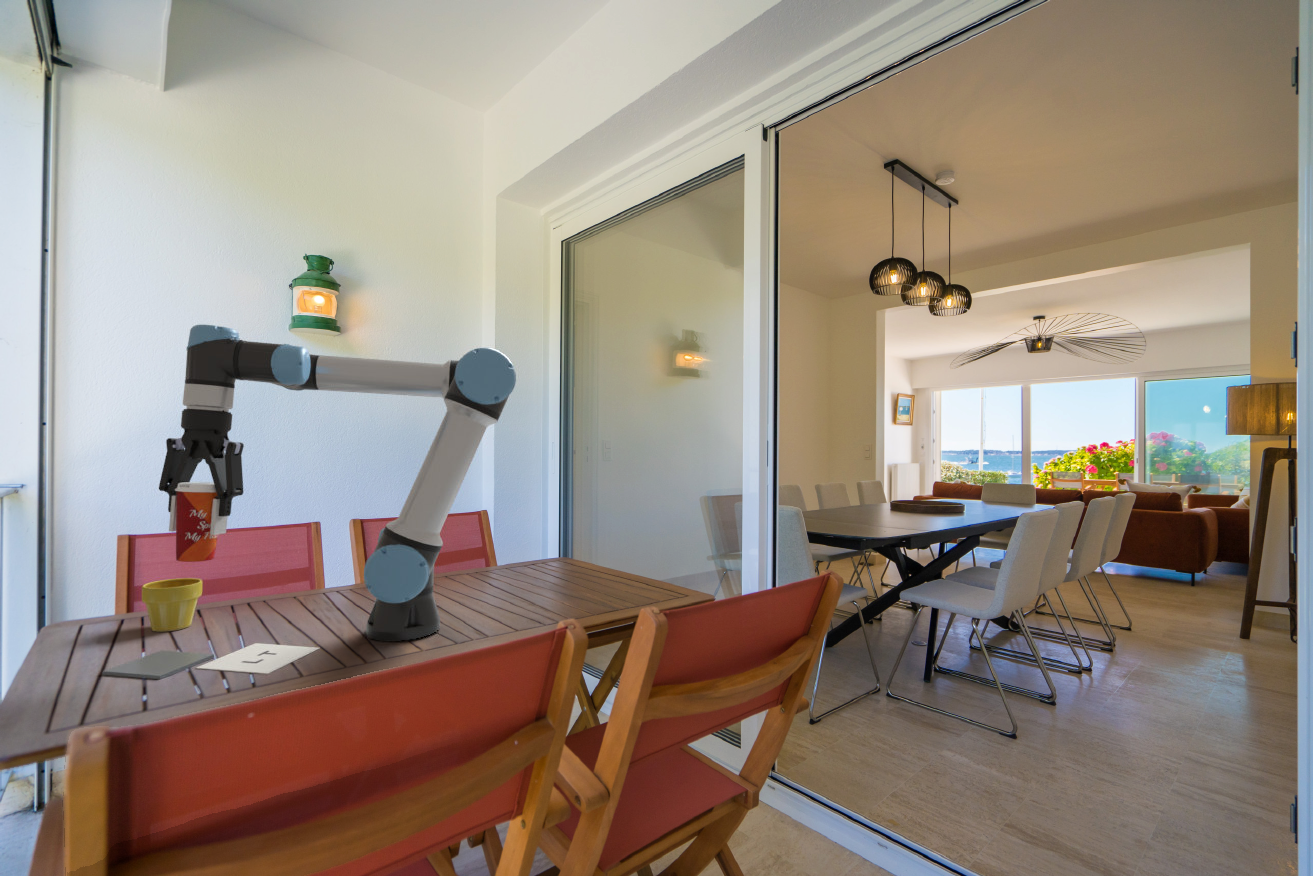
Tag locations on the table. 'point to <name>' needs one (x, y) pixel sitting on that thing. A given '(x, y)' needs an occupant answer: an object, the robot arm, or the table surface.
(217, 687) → the table surface
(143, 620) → the table surface
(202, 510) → the paper cup
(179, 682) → the table surface
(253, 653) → the tile
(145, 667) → the slate coaster
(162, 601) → the plant pot
